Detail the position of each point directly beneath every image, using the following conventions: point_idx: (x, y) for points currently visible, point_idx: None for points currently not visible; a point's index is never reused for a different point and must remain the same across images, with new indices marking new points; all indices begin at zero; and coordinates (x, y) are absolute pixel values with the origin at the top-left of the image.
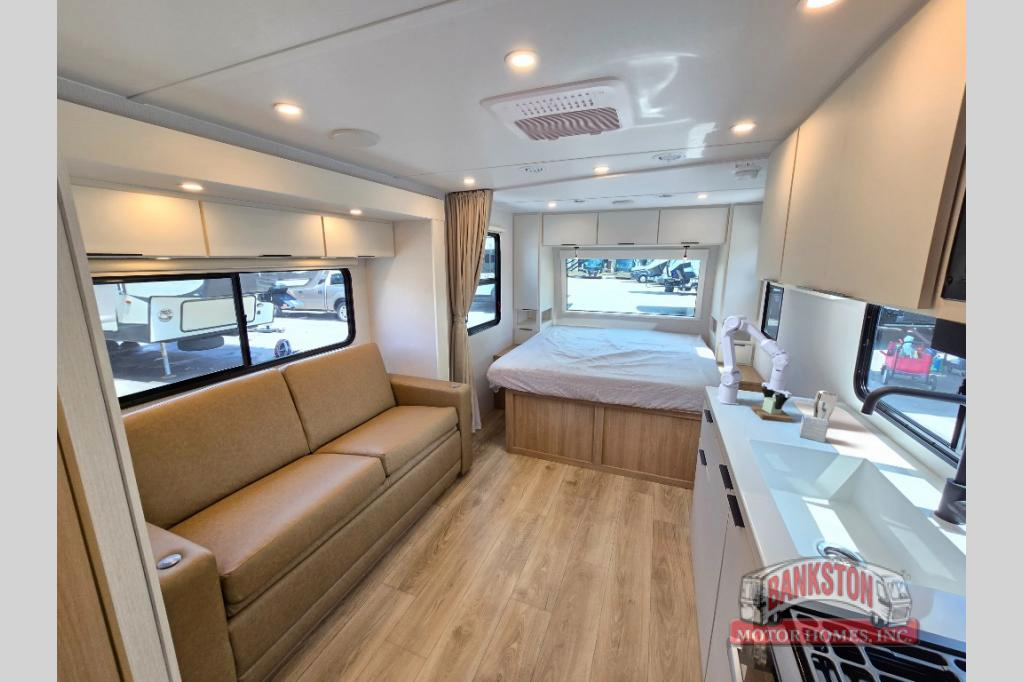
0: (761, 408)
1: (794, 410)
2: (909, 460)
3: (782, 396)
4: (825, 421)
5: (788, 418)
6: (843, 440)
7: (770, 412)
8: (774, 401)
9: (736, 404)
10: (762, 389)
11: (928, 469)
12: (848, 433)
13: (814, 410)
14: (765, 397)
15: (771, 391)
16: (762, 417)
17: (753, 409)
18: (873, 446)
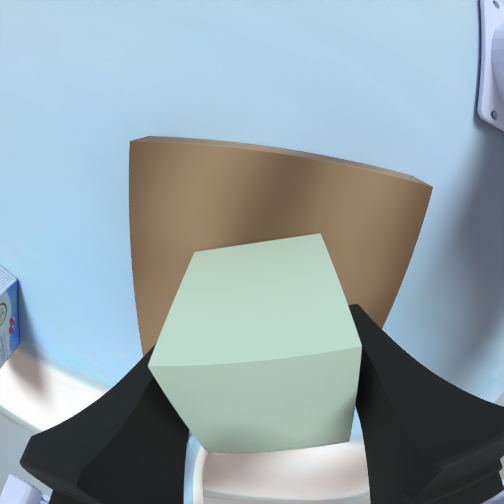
0: (344, 240)
1: (352, 428)
2: (29, 426)
3: (41, 481)
4: None
5: (143, 342)
6: (52, 396)
7: (197, 258)
8: (162, 382)
9: (480, 92)
10: (497, 431)
11: (10, 418)
12: None
13: None
14: (350, 352)
15: (383, 493)
16: (142, 138)
17: (367, 166)
18: None
